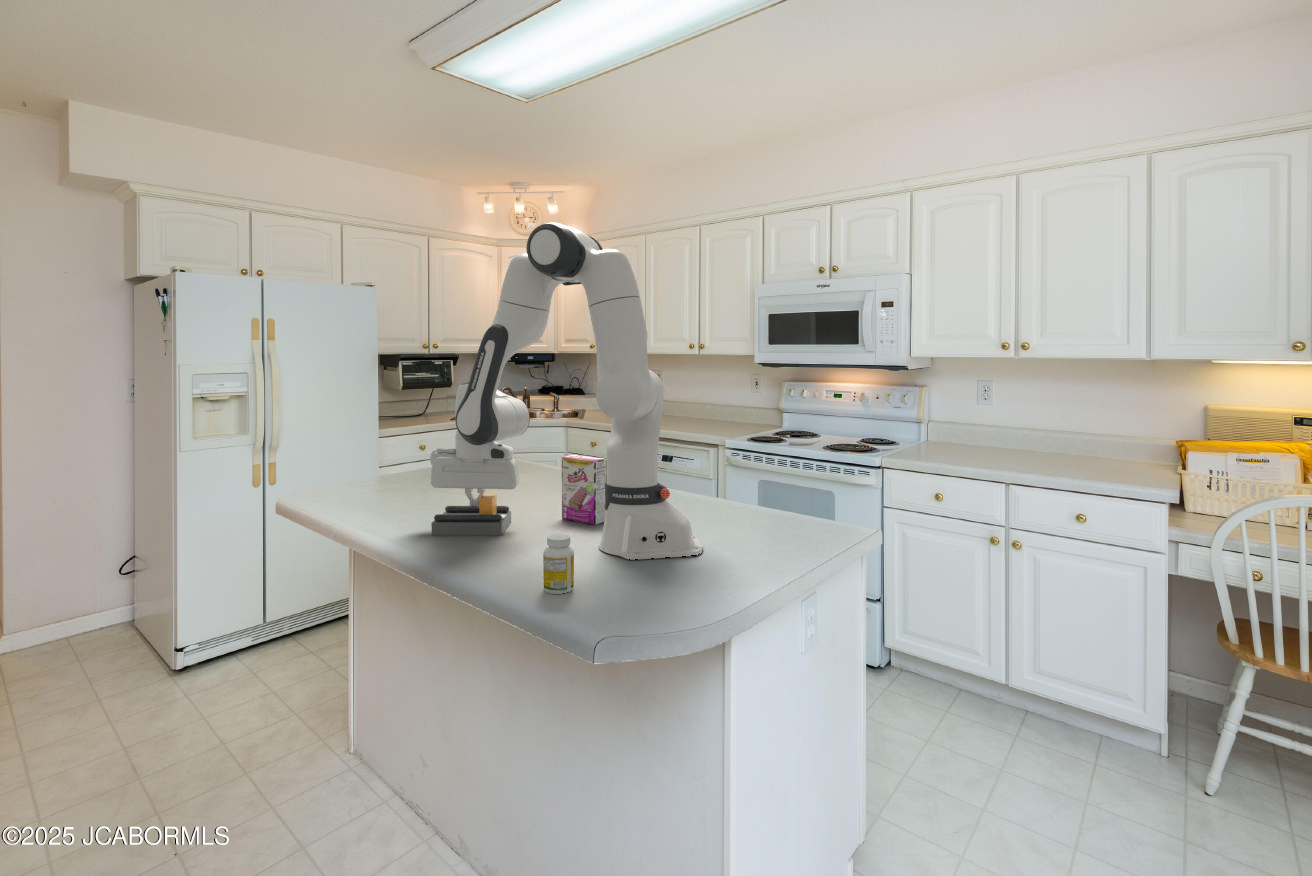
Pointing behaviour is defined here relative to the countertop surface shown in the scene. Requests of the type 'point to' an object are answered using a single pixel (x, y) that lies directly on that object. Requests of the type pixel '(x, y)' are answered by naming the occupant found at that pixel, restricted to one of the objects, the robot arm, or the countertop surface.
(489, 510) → the block
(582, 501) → the candy bar box
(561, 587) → the supplement bottle
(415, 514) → the countertop surface
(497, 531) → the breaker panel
